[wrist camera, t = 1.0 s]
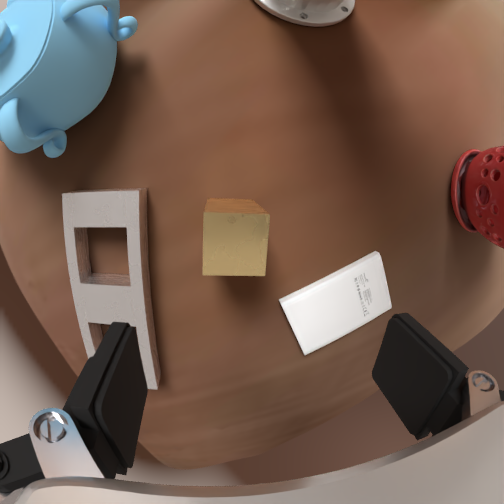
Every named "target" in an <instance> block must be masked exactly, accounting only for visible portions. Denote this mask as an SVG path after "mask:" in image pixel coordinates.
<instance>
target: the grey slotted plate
mask: <svg viewBox="0 0 504 504" xmlns="http://www.w3.org/2000/svg"><path fill="white" fill-rule="evenodd" d="M62 204H63V222H64V235H65V245H66V254H67V262H68V269H69V276H70V282H71V287H72V293H73V298H74V303H75V308H76V313H77V317H78V321H79V326H80V330H81V334H82V337H83V341H84V345H85V348H86V352H87V355H88V358H90V357H92V356H94V354H95V352H96V350H97V348H98V347H99V345H100V343H101V341H102V339H103V335H102V330H101V326H100V324H111V323H112V322H127V323H129V324H130V326H135V327H136V329H137V336H138V342H139V347H140V355H141V360H142V364H143V369H144V373H145V378H146V382H147V389H157V390H158V386H159V381H160V376H161V371H160V364H159V358H158V351H157V344H156V336H155V328H154V320H153V310H152V300H151V288H150V275H149V257H148V231H147V188H127V189H97V190H78V191H72V192H67V193H63V194H62ZM87 227H127V244H128V259H129V272H130V275H129V274H106V273H91V265H90V256H89V246H88V233H87Z"/></svg>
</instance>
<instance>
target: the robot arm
mask: <svg viewBox="0 0 504 504" xmlns="http://www.w3.org/2000/svg"><path fill="white" fill-rule="evenodd" d="M254 1H255V2H256V3H257V4H258V5H259V6H261V7H262V8H263V9H265V10H266V11H268V12H269V13H271V14H272V15H275V16H277V17H279V18H281V19H283V20H286V21H289V22H292V23H296V24H300V25H305V26H314V27H317V26H329V25H334V24H336V23H339V22H341V21H342V20H344V19H345V18H346V17H347V16H348V15H349V14H350V13H351V12H352V10H353V8H354V5H355V0H254ZM468 369H469V368H468V367H467V366H466V365H465V364H464V363H463V362H462V361H461V360H460V359H458V358H457V357H456V356H455V355H454V354H453V353H452V352H451V351H450V350H449V349H448V348H447V347H445V346H444V345H443V344H442V343H441V342H440V341H439V340H438V339H437V338H436V337H434V336H433V335H432V334H431V333H430V332H429V331H428V330H427V329H425V328H424V327H423V326H422V325H421V324H420V323H419V322H417V321H416V320H415V319H414V318H413V317H412V316H410V315H409V314H408V313H401V314H395V315H393V316H392V318H391V319H390V320H389V322H388V325H387V328H386V332H385V335H384V338H383V341H382V344H381V348H380V351H379V354H378V356H377V359H376V362H375V365H374V368H373V371H372V377H373V379H374V381H375V382H376V384H377V385H378V387H379V388H380V390H381V391H382V392H383V394H384V395H385V397H386V398H387V400H388V401H389V403H390V404H391V406H392V407H393V408H394V410H395V412H396V413H397V414H398V416H399V417H400V419H401V420H402V422H403V423H404V425H405V426H406V428H407V429H408V431H409V432H410V433H411V434H413V435H414V436H415V437H416V439H417V440H419V439H421V438H424V437H426V436H428V434H429V433H430V431H431V433H432V434H433V435H432V437H430V438H428V439H426V440H424V441H421V442H419V443H417V444H415V445H412V446H410V447H408V448H405V449H402V450H400V451H397V452H395V453H392V454H389V455H387V456H384V457H381V458H378V459H375V460H372V461H369V462H366V463H363V464H360V465H356V466H353V467H349V468H345V469H342V470H338V471H334V472H329V473H326V474H321V475H316V476H311V477H306V478H300V479H294V480H288V481H281V482H274V483H265V484H254V485H241V486H174V485H161V484H151V483H142V482H132V481H124V480H116V479H115V476H116V473H117V474H122V475H126V473H127V467H128V468H132V466H133V462H134V456H135V450H136V445H137V440H138V435H139V430H140V425H141V420H142V415H143V410H144V406H145V401H146V397H147V390H148V389H147V382H146V378H145V373H144V369H143V364H142V360H141V355H140V350H139V345H138V340H137V335H136V330H135V328H134V327H131V326H130V324H129V323H127V322H112V323H111V325H110V327H109V329H108V330H107V332H106V334H105V336H104V338H103V339H102V341H101V343H100V345H99V347H98V348H97V350H96V352H95V354H94V356H92V357H90V358H89V359H88V360H87V362H86V364H85V366H84V368H83V370H82V372H81V373H80V375H79V377H78V379H77V381H76V383H75V385H74V387H73V389H72V391H71V393H70V396H69V397H68V399H67V401H66V403H65V406H64V408H63V410H60V409H58V408H48V409H43V410H41V411H39V412H38V413H36V414H35V415H34V416H33V417H32V419H31V421H30V424H29V434H26V435H24V436H21V437H18V438H15V439H12V440H10V441H7V442H4V443H1V444H0V504H504V391H502V390H499V389H498V384H497V382H496V380H495V379H494V377H493V376H491V375H490V374H488V373H486V372H484V371H478V370H477V371H473V372H471V373H470V374H469V376H468V378H466V377H465V374H466V373H467V370H468Z"/></svg>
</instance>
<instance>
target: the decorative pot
mask: <svg viewBox="0 0 504 504" xmlns="http://www.w3.org/2000/svg"><path fill="white" fill-rule="evenodd" d="M102 5H104V6H106V7H107V9H108V12H107V11H106V9H105V8H104V7H103V6H102ZM119 14H120V4H119V0H8V3H7V8H6V9H5V10H3V11H2V12H1V13H0V140H1V141H3V142H4V143H5V145H6V146H7V147H8V149H10V150H11V151H12V152H15V153H27V152H30V151H32V150H34V149H36V148H38V147H39V146H41V145H43V150H44V153H45V154H46V156H48V157H50V158H56V157H59V156H60V155H61V154H63V152H64V151H65V149H66V144H67V137H66V134H65V132H64V131H65V130H67V129H69V128H70V127H71V126H73V125H75V124H76V123H78V122H79V121H80V120H82V119H83V118H84V117H86V116H87V115H88V114H90V113H91V112H92V111H93V110H94V109H95V108H96V107H97V106H98V104H99V103H100V102H101V100H102V99H103V97H104V96H105V94H106V92H107V90H108V88H109V86H110V83H111V80H112V76H113V73H114V68H115V63H116V55H117V41H122V40H125V39H127V38H129V37H131V36H132V35H133V34H134V33H135V32H136V30H137V26H138V24H137V20H136V19H135V18H134V17H131V16H127V17H123V18H121V19H119Z"/></svg>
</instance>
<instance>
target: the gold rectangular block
mask: <svg viewBox="0 0 504 504" xmlns="http://www.w3.org/2000/svg"><path fill="white" fill-rule="evenodd" d="M269 219H270V214H269V213H267V212H266V211H265V210H264V209H263V208H261V207H260V206H259V205H258V204H257V203H256V202H254V201H253V200H247V199H222V198H208V200H207V203H206V206H205V210H204V222H203V275H225V276H265V270H266V258H267V245H268V232H269Z"/></svg>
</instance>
